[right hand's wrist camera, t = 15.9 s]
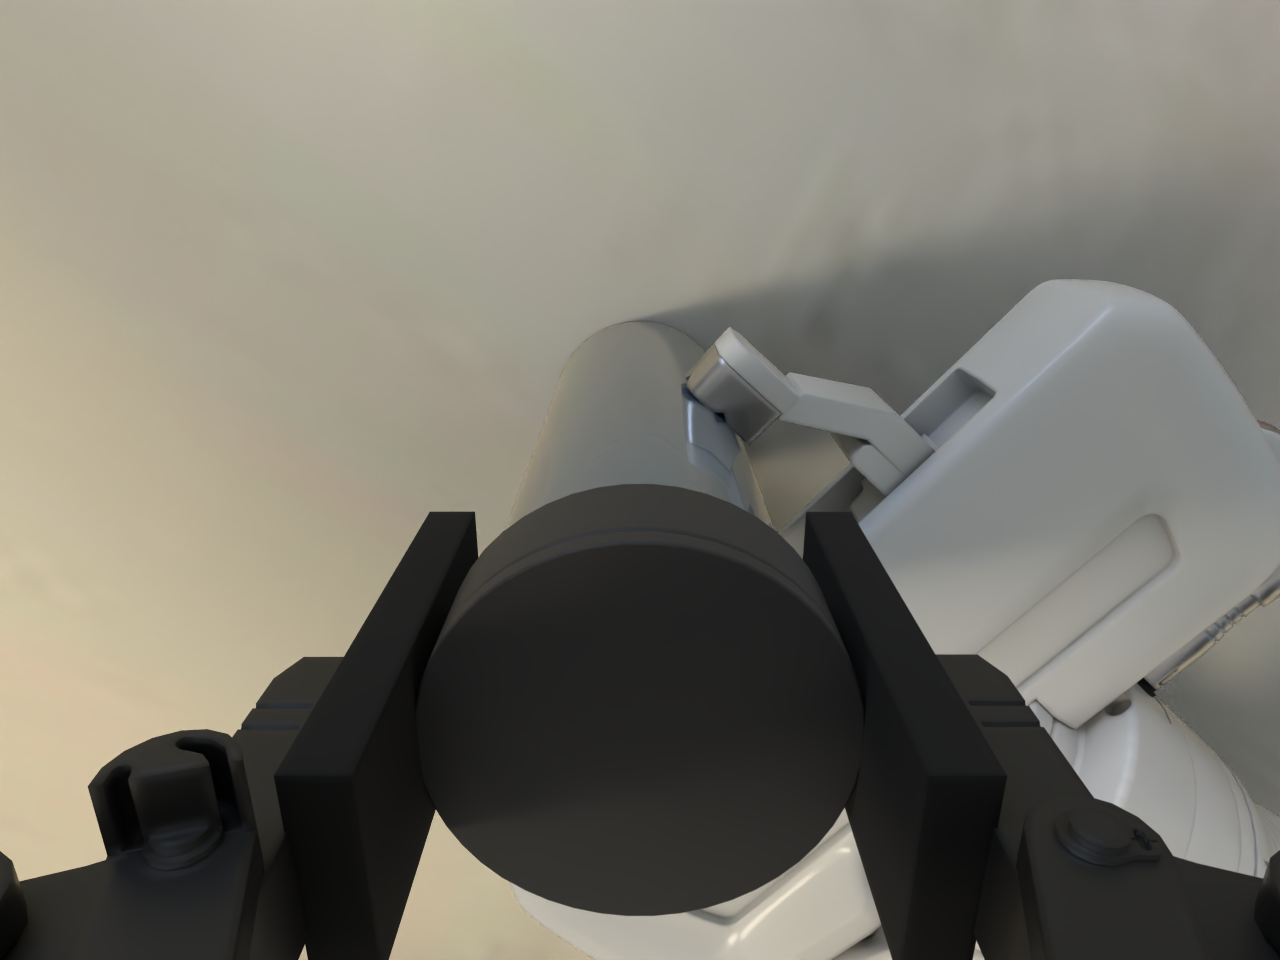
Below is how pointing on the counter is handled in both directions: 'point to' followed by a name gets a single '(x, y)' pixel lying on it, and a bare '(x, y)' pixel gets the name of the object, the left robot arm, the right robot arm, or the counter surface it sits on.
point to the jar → (635, 425)
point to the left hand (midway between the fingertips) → (608, 461)
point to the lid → (639, 704)
